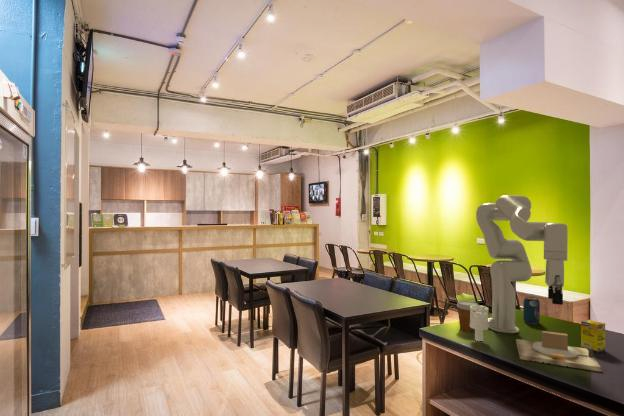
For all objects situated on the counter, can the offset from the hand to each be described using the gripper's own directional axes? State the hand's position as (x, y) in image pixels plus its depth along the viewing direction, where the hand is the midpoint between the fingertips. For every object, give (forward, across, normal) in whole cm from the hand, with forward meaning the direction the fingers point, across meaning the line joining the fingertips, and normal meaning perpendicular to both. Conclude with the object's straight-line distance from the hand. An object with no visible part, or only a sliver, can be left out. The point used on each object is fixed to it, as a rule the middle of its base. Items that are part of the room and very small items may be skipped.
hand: (555, 301), depth 142 cm
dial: (+19, +1, 0) cm, 19 cm away
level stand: (+20, 0, 0) cm, 20 cm away
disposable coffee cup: (+20, -20, -31) cm, 42 cm away
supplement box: (+20, -15, +15) cm, 29 cm away
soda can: (+20, -48, -3) cm, 52 cm away
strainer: (+20, -5, -26) cm, 34 cm away
